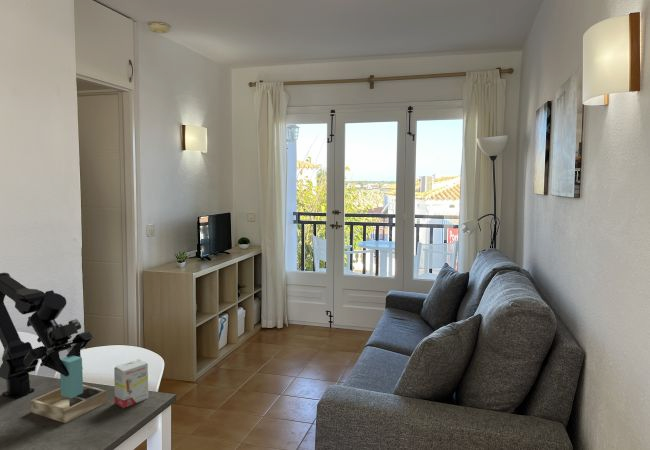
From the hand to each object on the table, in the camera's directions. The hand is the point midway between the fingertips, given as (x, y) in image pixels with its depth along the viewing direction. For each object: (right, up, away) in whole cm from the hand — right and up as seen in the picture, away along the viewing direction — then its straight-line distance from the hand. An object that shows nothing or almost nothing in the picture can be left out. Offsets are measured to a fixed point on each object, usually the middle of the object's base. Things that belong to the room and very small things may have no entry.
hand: (74, 372), depth 140 cm
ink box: (+12, -12, +10) cm, 20 cm away
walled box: (-4, -12, +5) cm, 14 cm away
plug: (-1, -7, +1) cm, 7 cm away
